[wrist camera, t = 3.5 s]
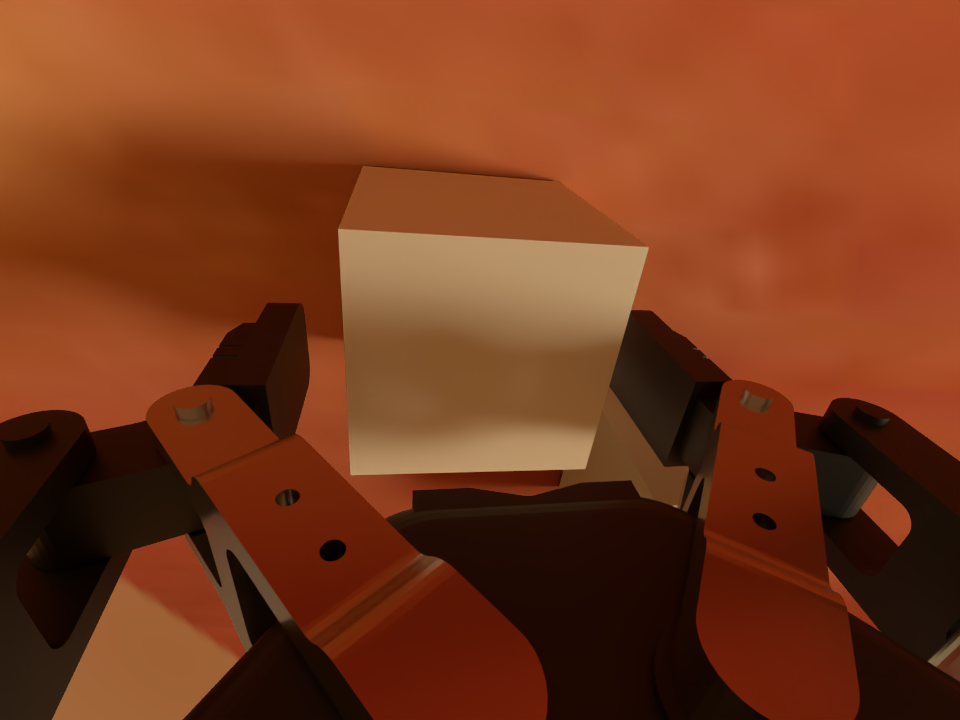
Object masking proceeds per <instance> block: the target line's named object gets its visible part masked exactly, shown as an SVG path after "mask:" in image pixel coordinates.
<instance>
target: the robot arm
mask: <svg viewBox="0 0 960 720" xmlns="http://www.w3.org/2000/svg"><path fill="white" fill-rule="evenodd" d="M706 357H707V356H705V355H704V354H703V353H702V352H701V351H700V350H697V347H696V346H695V345H693V344H692V343H691V342H690V341H689V340H688V339H687V338H686V337H684V336H682V335H680V334H678V333H676V332H674V331H673V330H672V329H671V328H670V327H668V326H667V325H666V324H665V323H664V322H663V321H662V320H661V319H660V318H659V317H658V316H657V315H656V314H654V313H653V312H652V311H650V310H631V312H630V315H629V319H628V322H627V326H626V329H625V333H624V336H623V340H622V343H621V347H620V350H619V354H618V357H617V361H616V364H615V368H614V371H613V374H612V378H611V381H610V385H609V387H610V388H611V389H612V391H613V392H614V394H615V395H616V397H617V398H618V400H619V401H620V403H621V404H622V406H623V407H624V409H625V410H626V411H627V413H628V414H629V416H630V417H631V419H632V420H633V422H634V423H635V425H636V426H637V428H638V429H639V431H640V432H641V433H642V435H643V436H644V438H645V439H646V441H647V442H648V444H649V445H650V447H651V448H652V450H653V451H654V453H655V454H656V455H657V457H658V458H659V460H660V461H661V463H662V464H663V466H664V467H676V466H688V468H689V469H688V472H687V474H686V476H685V479H684V482H683V486H682V490H681V494H680V498H679V502H678V506H677V508H676V507H674V506H672V505H669V504H666V503H663V502H660V501H656V500H652V499H648V498H643V497H640V495H639V493H638V492H637V490H636V488H635V486H634V485H633V483H632V481H631V480H626V481H605V482H584V483H578V484H574V485H570V486H567V487H563V488H560V489H556V490H552V491H549V492H545V493H542V494H538V495H534V496H521V495H514V494H508V493H501V492H494V491H487V490H480V489H474V488H458V489H437V490H416V491H413V500H412V509H409V510H406V511H402V512H400V513H397V514H394V515H392V516H389V517H387V518H384V517H383V516H382V515H381V514H380V513H379V512H378V511H377V510H375V509H374V508H373V507H372V506H371V505H370V504H369V503H368V502H367V501H366V500H365V499H364V498H363V497H362V496H361V495H360V494H359V493H358V492H357V491H356V490H355V489H354V488H353V487H352V486H351V485H350V484H349V483H348V482H347V481H346V480H345V479H344V478H343V477H342V476H341V475H340V474H339V473H338V472H337V471H336V470H335V469H334V468H333V467H332V466H331V465H330V464H329V463H328V462H327V461H326V460H325V459H324V458H323V457H322V456H321V455H320V454H319V453H318V452H317V451H316V450H315V449H314V448H313V447H312V446H311V445H310V444H309V443H308V442H307V441H306V440H305V439H304V438H302V437H301V436H300V435H298V434H296V433H295V432H296V429H297V425H298V421H299V418H300V414H301V411H302V407H303V404H304V400H305V396H306V393H307V389H308V385H309V377H310V363H309V353H308V343H307V334H306V325H305V316H304V309H303V306H302V304H300V303H267V304H266V306H265V308H264V310H263V312H262V313H261V315H260V317H259V319H258V320H257V322H256V323H243V324H241V325H239V326H238V327H236V328H235V329H233V330H231V331H230V332H228V333H227V334H226V336H225V337H224V339H223V340H222V342H221V343H220V345H219V348H217V350H216V351H215V353H214V354H213V358H211V359H210V360H209V362H208V363H207V365H206V366H205V368H204V370H203V371H202V373H201V374H200V376H199V377H198V379H197V380H196V382H195V383H194V385H193V386H191V387H186V388H182V389H179V390H176V391H173V392H171V393H169V394H167V395H165V396H163V397H161V398H159V399H158V400H157V401H155V402H154V403H153V404H152V405H151V406H150V408H149V409H148V411H147V413H146V421H143V422H139V423H135V424H130V425H125V426H120V427H115V428H110V429H105V430H100V431H95V432H90V431H89V429H88V426H87V424H86V422H85V420H84V418H83V417H82V416H81V415H80V414H77V413H75V412H71V411H65V410H49V411H40V412H34V413H30V414H26V415H22V416H19V417H15V418H12V419H10V420H7V421H4V422H2V423H0V720H52V718H53V716H54V714H55V711H56V709H57V707H58V705H59V703H60V701H61V699H62V697H63V695H64V693H65V691H66V688H67V686H68V684H69V682H70V680H71V678H72V676H73V673H74V672H75V670H76V667H77V665H78V663H79V661H80V659H81V657H82V655H83V653H84V650H85V648H86V646H87V644H88V642H89V640H90V638H91V636H92V634H93V632H94V630H95V628H96V625H97V623H98V621H99V619H100V617H101V615H102V613H103V611H104V609H105V606H106V604H107V602H108V600H109V598H110V596H111V594H112V592H113V590H114V588H115V585H116V583H117V581H118V579H119V577H120V575H121V573H122V571H123V569H124V567H125V564H126V562H127V560H128V558H129V556H130V554H131V552H132V550H133V549H136V548H140V547H143V546H146V545H150V544H153V543H157V542H160V541H163V540H167V539H170V538H174V537H177V536H180V535H184V536H185V538H186V540H187V542H188V543H189V545H190V547H191V548H192V550H193V552H194V554H195V555H196V557H197V559H198V560H199V562H200V564H201V565H202V567H203V569H204V571H205V572H206V574H207V576H208V577H209V579H210V581H211V582H212V584H213V586H214V588H215V589H216V591H217V593H218V594H219V596H220V598H221V599H222V601H223V603H224V605H225V607H226V609H227V611H228V613H229V615H230V617H231V620H232V622H233V625H234V627H235V629H236V632H237V634H238V636H239V638H240V640H241V642H242V644H243V646H244V648H245V650H246V653H245V654H244V655H243V656H242V657H241V659H240V660H239V661H238V662H237V663H236V664H235V665H234V666H233V667H232V668H231V669H230V670H229V671H228V672H227V674H226V675H225V676H224V677H223V678H222V679H221V680H220V681H219V682H218V683H217V684H216V685H215V686H214V687H213V688H212V689H211V690H210V691H209V692H208V694H207V695H206V696H205V697H204V698H203V699H202V700H201V701H200V702H199V703H198V704H197V705H196V706H195V707H194V708H193V709H192V710H191V712H190V713H189V714H188V715H187V716H186V717H185V718H184V719H183V720H960V461H958V460H957V459H956V458H954V457H953V456H951V455H950V454H949V453H947V452H946V451H945V450H943V449H942V448H940V447H939V446H938V445H936V444H935V443H934V442H932V441H931V440H929V439H928V438H927V437H925V436H924V435H923V434H921V433H920V432H918V431H917V430H916V429H914V428H913V427H912V426H910V425H909V424H907V423H906V422H905V421H903V420H902V419H901V418H899V417H898V416H896V415H895V414H893V413H891V412H889V411H888V410H885V409H883V408H881V407H879V406H877V405H874V404H871V403H868V402H865V401H861V400H857V399H851V398H838V399H835V400H833V401H832V402H831V404H830V405H829V407H828V409H827V411H826V413H825V414H824V416H823V417H821V416H816V415H810V414H804V413H799V412H794V408H793V405H792V403H791V402H790V401H789V400H788V399H787V398H786V397H785V396H783V395H782V394H781V393H779V392H777V391H776V390H774V389H772V388H769V387H767V386H765V385H762V384H759V383H755V382H751V381H746V380H732V379H731V378H730V377H729V376H727V375H726V374H725V373H724V372H723V371H722V370H721V369H720V368H719V367H718V366H716V365H715V364H714V363H713V362H712V361H711V360H710V359H707V358H706ZM878 483H879V484H880V485H882V486H883V487H884V488H885V489H886V490H887V491H888V492H889V493H890V494H891V495H893V496H894V497H895V498H896V499H897V500H898V501H899V502H900V503H901V504H902V505H903V506H904V507H905V508H906V509H907V511H908V513H909V515H910V518H911V525H912V526H911V531H910V533H909V535H908V536H907V537H906V538H905V540H904V541H903V542H902V544H901V545H900V546H899V547H898V546H897V545H896V544H895V543H894V542H893V541H892V539H891V538H890V537H889V536H888V535H887V534H886V533H885V532H884V531H883V530H882V529H881V528H880V527H879V526H878V525H877V524H876V523H875V522H874V521H873V520H872V519H871V518H870V517H869V516H868V515H867V514H866V513H865V512H864V511H863V510H862V509H861V507H862V505H863V504H864V502H865V501H866V500H867V498H868V497H869V495H870V494H871V492H872V491H873V489H874V488H875V486H876V485H877V484H878ZM827 566H828V567H829V568H830V570H831V571H832V572H833V573H834V575H835V576H836V577H837V578H838V580H839V581H840V582H841V583H842V584H843V586H844V587H845V588H846V589H847V591H848V592H849V593H850V594H851V596H852V597H853V598H854V599H855V600H856V602H857V603H858V604H859V605H860V607H861V608H862V609H863V610H864V612H865V613H866V614H867V615H868V616H869V618H870V619H871V620H872V621H873V623H874V624H875V625H876V626H877V628H878V629H879V630H880V631H881V632H880V631H878V630H876V629H875V628H873V627H872V626H870V625H868V624H867V623H865V622H864V621H862V620H860V619H859V618H857V617H856V616H854V615H852V614H851V613H849V612H848V611H847V607H846V604H845V601H844V599H843V598H842V596H841V595H840V594H838V593H836V592H834V591H833V590H832V588H831V586H830V583H829V576H828V567H827Z"/></svg>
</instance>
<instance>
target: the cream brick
mask: <svg viewBox="0 0 960 720" xmlns="http://www.w3.org/2000/svg"><path fill="white" fill-rule="evenodd" d="M338 237H339V256H340V276H341V296H342V315H343V335H344V354H345V374H346V393H347V413H348V432H349V452H350V472H351V475H375V474H414V473H453V472H492V471H531V470H570V469H586V465H587V462H588V458H589V455H590V451H591V448H592V444H593V441H594V437H595V434H596V430H597V427H598V423H599V420H600V416H601V413H602V409H603V406H604V402H605V399H606V395H607V392H608V388H609V385H610V381H611V378H612V374H613V371H614V368H615V364H616V361H617V357H618V354H619V350H620V347H621V343H622V340H623V336H624V333H625V329H626V326H627V322H628V319H629V315H630V312H631V308H632V305H633V301H634V298H635V294H636V291H637V287H638V284H639V280H640V277H641V273H642V270H643V266H644V263H645V259H646V256H647V253H648V249H649V247H648V246H647V245H645V244H644V243H643V242H641V241H640V240H639V239H637V238H636V237H634V236H633V235H632V234H630V233H629V232H628V231H626V230H625V229H623V228H622V227H621V226H619V225H618V224H617V223H615V222H614V221H613V220H611V219H610V218H608V217H607V216H606V215H604V214H603V213H602V212H600V211H599V210H597V209H596V208H595V207H593V206H592V205H591V204H589V203H588V202H587V201H585V200H584V199H582V198H581V197H580V196H578V195H577V194H576V193H574V192H573V191H572V190H570V189H569V188H567V187H566V186H565V185H563V184H562V183H561V182H556V181H544V180H532V179H519V178H507V177H495V176H482V175H470V174H458V173H446V172H433V171H421V170H409V169H396V168H384V167H372V166H363V167H362V169H361V172H360V174H359V177H358V180H357V182H356V185H355V187H354V190H353V192H352V195H351V197H350V200H349V202H348V205H347V208H346V210H345V213H344V215H343V218H342V220H341V223H340V225H339V228H338Z"/></svg>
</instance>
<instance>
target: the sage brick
mask: <svg viewBox="0 0 960 720" xmlns="http://www.w3.org/2000/svg"><path fill="white" fill-rule="evenodd" d="M688 469H689V468H688V466H676V467H664V466H663V464H662V463H661V461H660V460H659V458H658V457H657V455H656V454H655V453H654V451H653V450H652V448H651V447H650V445H649V444H648V442H647V441H646V439H645V438H644V436H643V435H642V433H641V432H640V431H639V429H638V428H637V426H636V425H635V423H634V422H633V420H632V419H631V417H630V416H629V414H628V413H627V411H626V410H625V409H624V407H623V406H622V404H621V403H620V401H619V400H618V398H617V397H616V395H615V394H614V392H613V391H612V389H611V388H610V387H609V388H608V392H607V395H606V399H605V402H604V406H603V409H602V413H601V416H600V420H599V423H598V427H597V430H596V434H595V437H594V441H593V444H592V448H591V451H590V455H589V458H588V462H587V465H586V469H570V470H563V473H562V477H561V481H560V485H559V489H560V488H563V487H567V486H570V485H574V484H578V483H584V482H605V481H626V480H631V481H632V483H633V485H634V486H635V488H636V490H637V492H638V493H639V495H640V497H643V498H648V499H652V500H656V501H660V502H663V503H666V504H669V505H672V506H674V507H676V508H677V506H678V502H679V498H680V494H681V490H682V486H683V482H684V479H685V476H686V474H687V472H688Z"/></svg>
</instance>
